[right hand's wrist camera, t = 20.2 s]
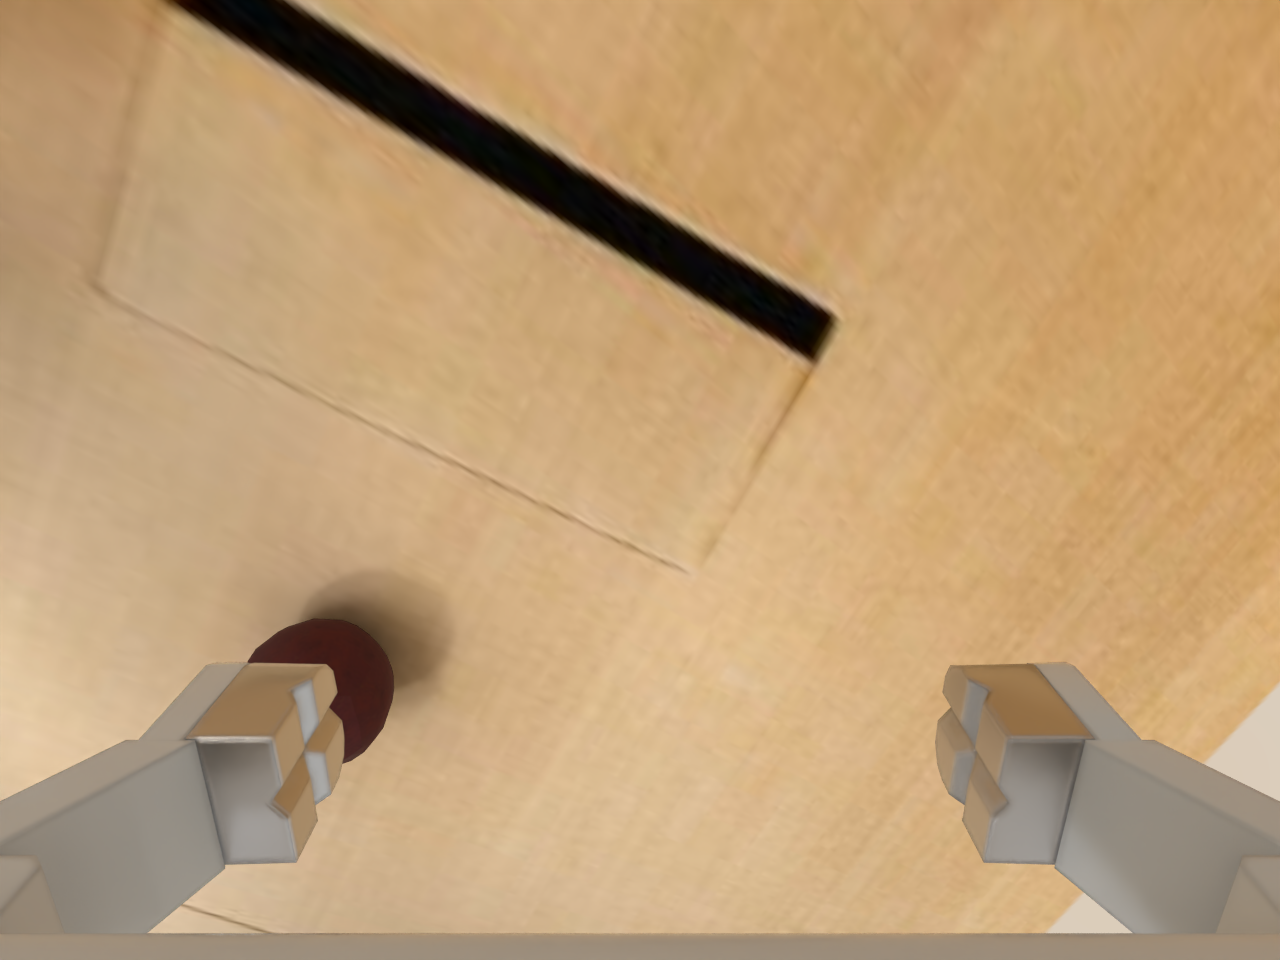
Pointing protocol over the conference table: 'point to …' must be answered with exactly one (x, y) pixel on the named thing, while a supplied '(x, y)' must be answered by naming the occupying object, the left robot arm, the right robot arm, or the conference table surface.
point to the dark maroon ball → (340, 673)
